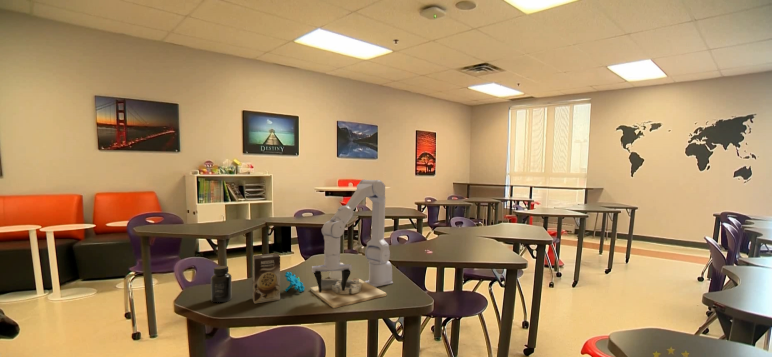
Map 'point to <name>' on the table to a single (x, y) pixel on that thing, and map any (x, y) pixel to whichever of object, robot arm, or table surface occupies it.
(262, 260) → the cookie box
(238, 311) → the table surface
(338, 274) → the cream cube
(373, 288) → the beige square board
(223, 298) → the supplement bottle
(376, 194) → the robot arm
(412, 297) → the table surface
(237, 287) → the table surface
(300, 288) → the gear
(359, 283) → the faceted metal ring
